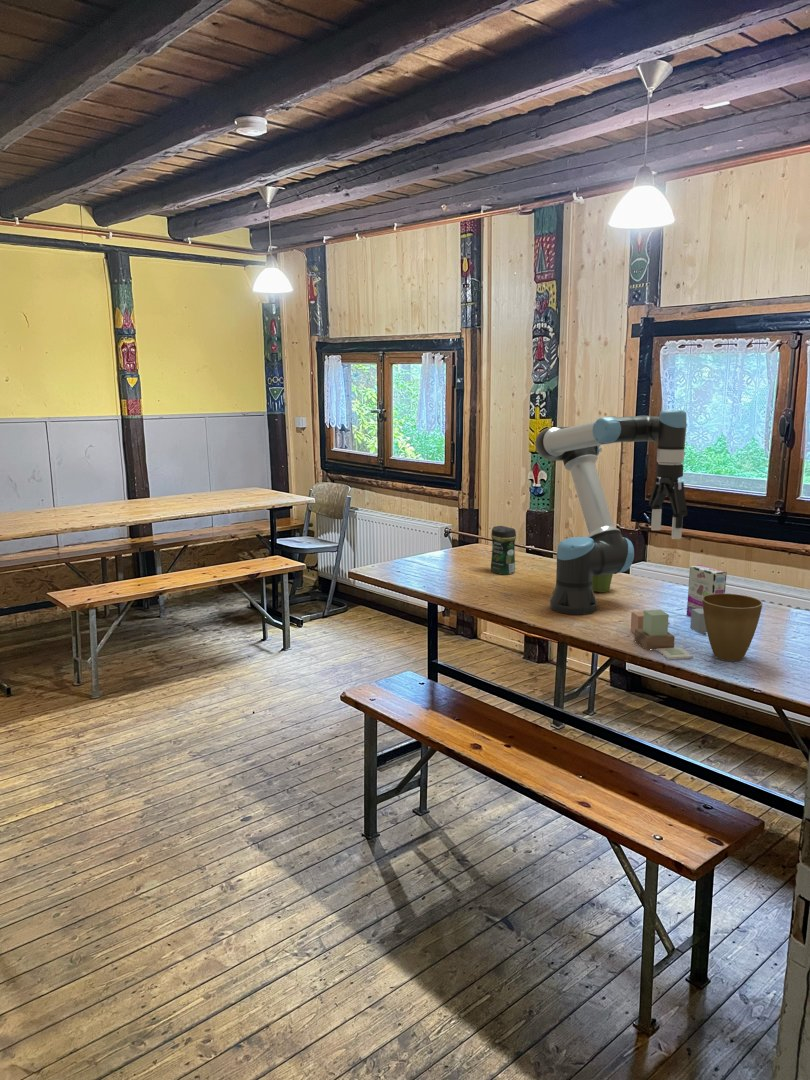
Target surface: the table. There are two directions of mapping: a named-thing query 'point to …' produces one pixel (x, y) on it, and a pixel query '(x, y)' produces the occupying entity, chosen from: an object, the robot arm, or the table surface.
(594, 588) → the plant pot
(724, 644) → the plant pot
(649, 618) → the sage block
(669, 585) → the table surface
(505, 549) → the coffee jar
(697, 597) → the candy bar box
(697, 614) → the slate block
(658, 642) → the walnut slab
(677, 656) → the tile
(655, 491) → the robot arm
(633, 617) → the terracotta block
